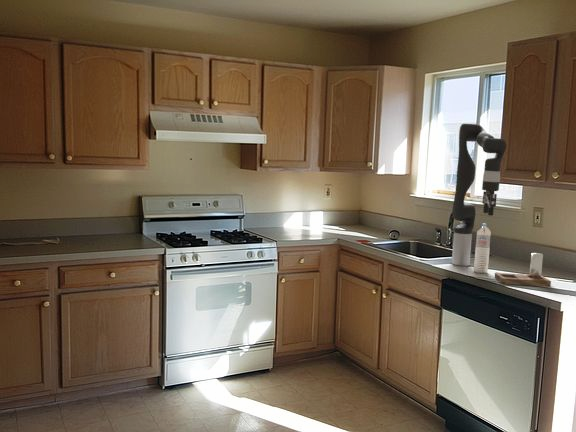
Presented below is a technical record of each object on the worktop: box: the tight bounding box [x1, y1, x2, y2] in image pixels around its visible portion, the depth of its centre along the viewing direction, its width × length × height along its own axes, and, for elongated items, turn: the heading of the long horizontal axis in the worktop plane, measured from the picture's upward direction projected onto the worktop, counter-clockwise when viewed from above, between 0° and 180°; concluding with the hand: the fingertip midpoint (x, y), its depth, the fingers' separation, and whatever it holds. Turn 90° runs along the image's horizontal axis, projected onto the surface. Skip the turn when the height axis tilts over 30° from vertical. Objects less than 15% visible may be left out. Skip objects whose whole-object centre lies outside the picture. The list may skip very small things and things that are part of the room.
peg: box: [528, 252, 544, 279], centre depth 262 cm, size 5×5×14 cm
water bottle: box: [473, 223, 492, 274], centre depth 280 cm, size 7×7×25 cm
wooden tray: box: [494, 272, 552, 287], centre depth 263 cm, size 12×22×3 cm, turn 85°
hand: (487, 214), depth 265 cm, fingers open, 8 cm apart
